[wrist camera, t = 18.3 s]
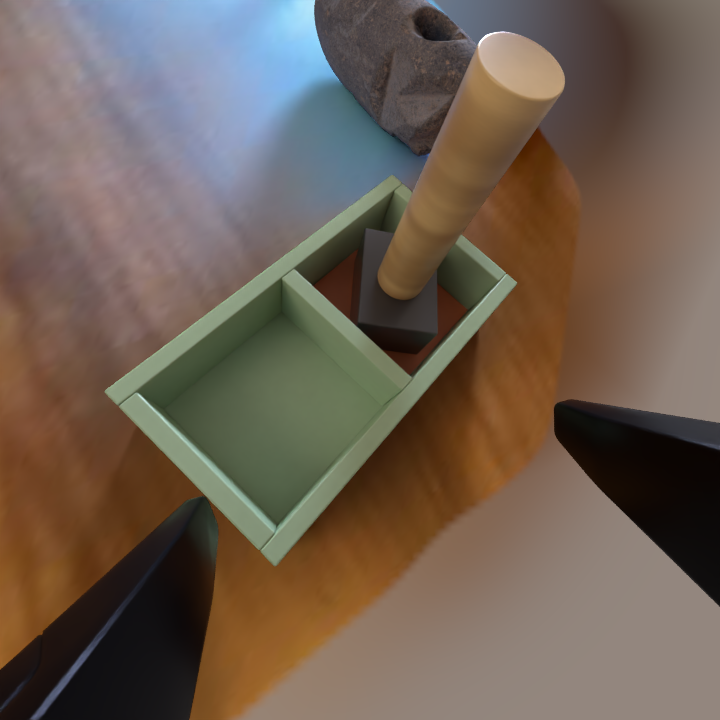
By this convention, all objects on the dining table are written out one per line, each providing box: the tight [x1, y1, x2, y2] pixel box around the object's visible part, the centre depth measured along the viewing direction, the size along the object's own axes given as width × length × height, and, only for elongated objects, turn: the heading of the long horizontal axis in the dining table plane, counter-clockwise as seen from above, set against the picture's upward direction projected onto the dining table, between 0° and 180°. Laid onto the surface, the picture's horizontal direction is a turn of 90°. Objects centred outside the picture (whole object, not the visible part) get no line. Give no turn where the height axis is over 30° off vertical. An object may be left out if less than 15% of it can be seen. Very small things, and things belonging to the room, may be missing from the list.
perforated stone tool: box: [314, 0, 477, 156], centre depth 24 cm, size 15×5×7 cm, turn 42°
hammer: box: [350, 32, 565, 354], centre depth 15 cm, size 6×4×13 cm
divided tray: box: [105, 175, 517, 566], centre depth 18 cm, size 9×17×4 cm, turn 139°
